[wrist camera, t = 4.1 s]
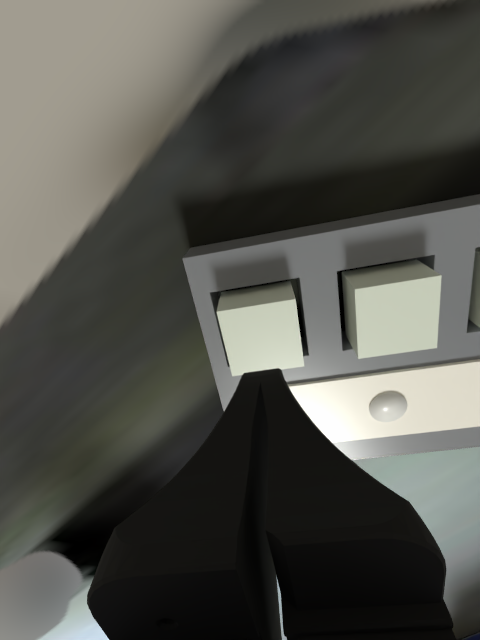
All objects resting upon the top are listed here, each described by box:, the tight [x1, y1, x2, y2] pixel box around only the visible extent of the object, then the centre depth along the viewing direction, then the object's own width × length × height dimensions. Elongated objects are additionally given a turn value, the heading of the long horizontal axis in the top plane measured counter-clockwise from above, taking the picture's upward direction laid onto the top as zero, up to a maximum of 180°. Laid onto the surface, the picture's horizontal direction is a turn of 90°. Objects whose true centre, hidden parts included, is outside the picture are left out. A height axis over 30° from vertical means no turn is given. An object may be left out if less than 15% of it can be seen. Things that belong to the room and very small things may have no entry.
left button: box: [217, 281, 304, 376], centre depth 17 cm, size 4×4×2 cm
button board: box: [183, 194, 480, 460], centre depth 18 cm, size 18×14×2 cm
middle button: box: [342, 259, 442, 359], centre depth 16 cm, size 4×4×2 cm
